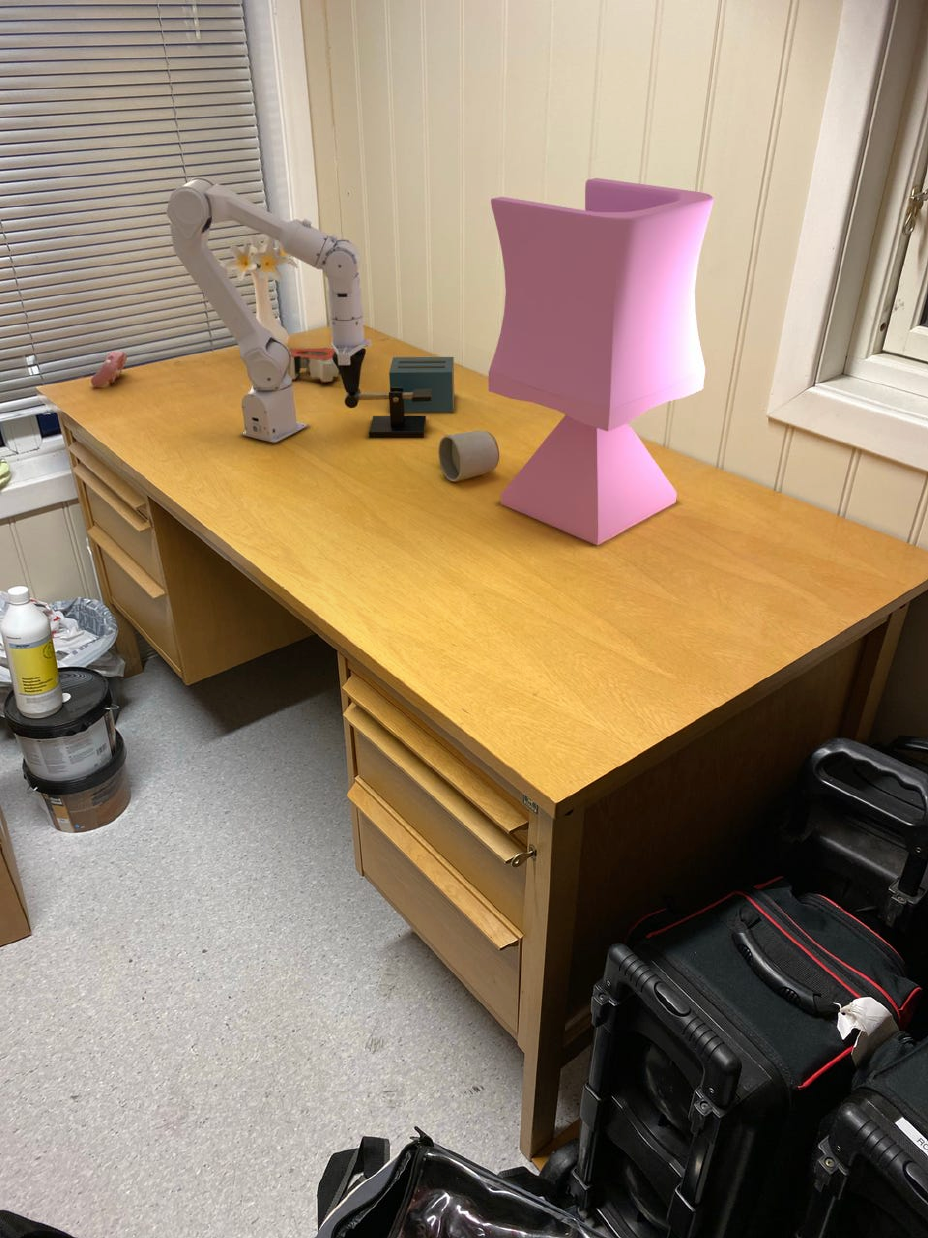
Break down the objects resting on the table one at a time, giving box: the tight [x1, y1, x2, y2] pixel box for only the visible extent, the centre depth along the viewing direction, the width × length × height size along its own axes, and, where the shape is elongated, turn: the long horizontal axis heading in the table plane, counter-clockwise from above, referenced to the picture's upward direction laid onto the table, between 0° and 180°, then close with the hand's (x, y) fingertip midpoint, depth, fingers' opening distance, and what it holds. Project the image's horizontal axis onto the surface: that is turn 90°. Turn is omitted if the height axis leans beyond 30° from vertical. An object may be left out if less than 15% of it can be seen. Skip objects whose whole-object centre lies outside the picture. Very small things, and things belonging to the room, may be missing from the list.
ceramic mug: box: [437, 430, 500, 483], centre depth 159 cm, size 11×8×8 cm
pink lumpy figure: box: [90, 349, 128, 388], centre depth 200 cm, size 10×5×7 cm, turn 179°
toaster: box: [388, 356, 455, 414], centre depth 185 cm, size 12×9×8 cm
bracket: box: [368, 386, 427, 439], centre depth 175 cm, size 10×8×8 cm
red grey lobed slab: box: [287, 347, 340, 384], centre depth 203 cm, size 18×5×20 cm
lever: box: [344, 388, 432, 409], centre depth 173 cm, size 16×5×2 cm, turn 89°
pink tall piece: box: [488, 177, 715, 546], centre depth 138 cm, size 22×22×45 cm
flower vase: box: [215, 234, 299, 347], centre depth 207 cm, size 13×18×25 cm
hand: (352, 391), depth 173 cm, fingers closed, pressing on lever
